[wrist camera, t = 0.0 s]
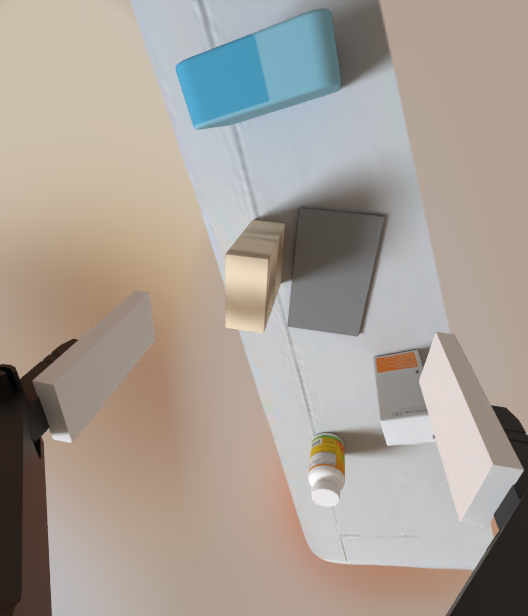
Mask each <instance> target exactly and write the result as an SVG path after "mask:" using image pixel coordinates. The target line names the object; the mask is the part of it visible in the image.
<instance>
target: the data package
mask: <svg viewBox="0 0 528 616" xmlns="http://www.w3.org/2000/svg"><path fill="white" fill-rule="evenodd" d="M176 73H177V76H178V79H179V82H180V85H181V88H182V92H183V95H184V98H185V101H186V104H187V107H188V110H189V114H190V117H191V120H192V123H193V126H194V128H195V129H197V130H199V129H206V128H213V127H220V126H227V125H232V124H235V123H239V122H242V121H245V120H248V119H252V118H255V117H258V116H261V115H264V114H268V113H271V112H274V111H277V110H280V109H283V108H287V107H290V106H293V105H296V104H299V103H302V102H306V101H309V100H312V99H315V98H318V97H322V96H325V95H328V94H331V93H334V92H336V91H339V90H340V88H341V77H340V70H339V63H338V56H337V49H336V43H335V36H334V29H333V22H332V15H331V12H330V10H328V9H318V10H313V11H310V12H307V13H304V14H302V15H299V16H297V17H294V18H291V19H289V20H286V21H284V22H281V23H278V24H276V25H273V26H271V27H268V28H265V29H263V30H260V31H258V32H255V33H253V34H250V35H247V36H245V37H242V38H240V39H237V40H234V41H232V42H229V43H227V44H224V45H221V46H219V47H216V48H214V49H211V50H209V51H206V52H203V53H201V54H198V55H196V56H193V57H190V58H188V59H186V60H183V61H182V62H180V63H179V64H178V65H177V66H176Z"/></svg>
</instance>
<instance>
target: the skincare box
mask: <svg viewBox="0 0 528 616" xmlns="http://www.w3.org/2000/svg"><path fill="white" fill-rule="evenodd" d="M373 362H374V371H375V380H376V389H377V398H378V407H379V416H380V422H381V426H382V430H383V433H384V437H385V440H386V444H387V445H388V446H391V445H402V444H407V445H412V444H420V443H425V442H436V438H435V435H434V431H433V428H432V425H431V421H430V418H429V414H428V411H427V407H426V404H425V401H424V397H423V394H422V390H421V387H420V383H419V379H420V376H421V374H422V371H423V365H422V362H421V359H420V356H419V352H418V350H413V351H407V352H402V353H396V354H390V355H383V356H377V357H373Z"/></svg>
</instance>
